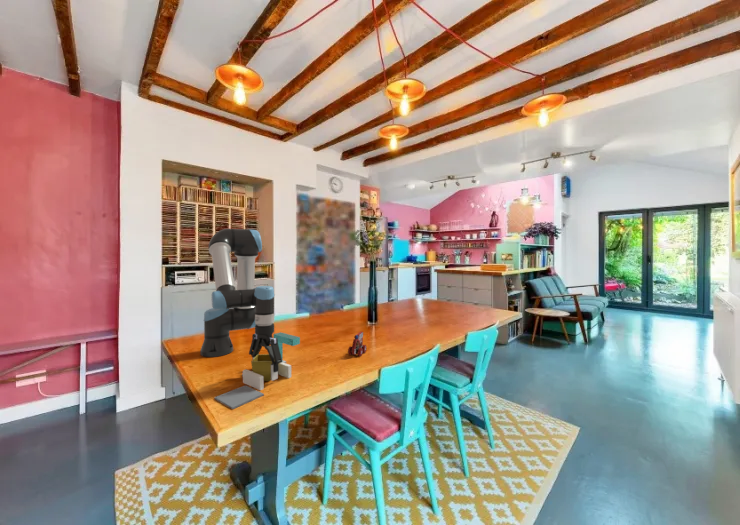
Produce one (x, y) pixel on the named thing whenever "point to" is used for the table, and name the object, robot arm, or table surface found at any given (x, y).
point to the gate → (286, 341)
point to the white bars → (257, 380)
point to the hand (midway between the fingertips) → (265, 375)
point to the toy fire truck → (357, 345)
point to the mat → (239, 396)
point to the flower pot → (262, 366)
